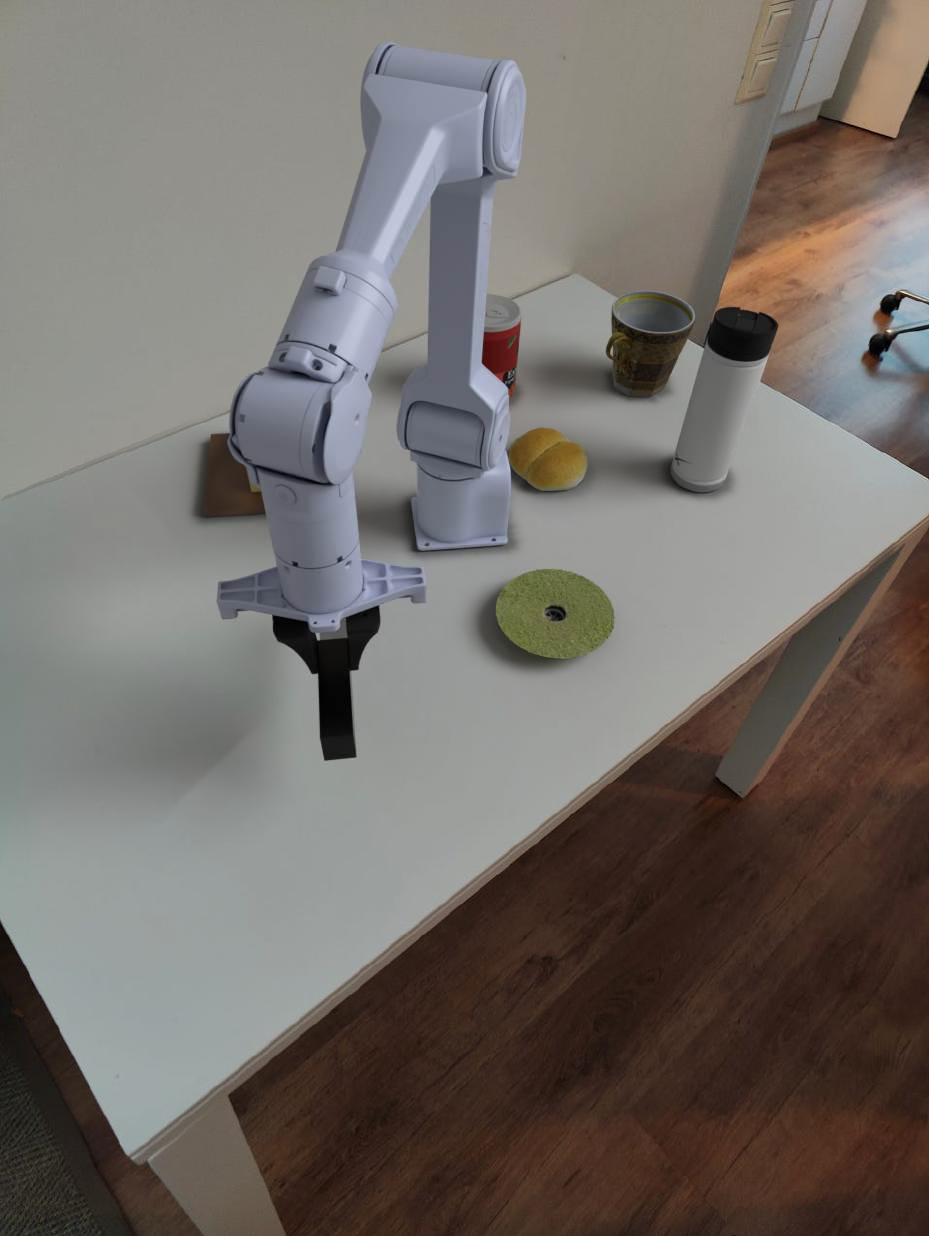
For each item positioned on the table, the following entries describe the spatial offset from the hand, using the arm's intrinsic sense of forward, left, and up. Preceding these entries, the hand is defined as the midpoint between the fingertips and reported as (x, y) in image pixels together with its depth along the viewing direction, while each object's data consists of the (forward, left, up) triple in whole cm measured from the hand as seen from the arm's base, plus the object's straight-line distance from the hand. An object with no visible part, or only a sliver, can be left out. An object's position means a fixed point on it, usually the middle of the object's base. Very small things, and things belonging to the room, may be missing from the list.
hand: (334, 662), depth 65 cm
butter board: (+7, -34, -8) cm, 35 cm away
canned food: (-19, -48, -8) cm, 52 cm away
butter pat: (+7, -31, -7) cm, 32 cm away
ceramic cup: (-38, -47, -8) cm, 61 cm away
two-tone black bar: (0, -1, -1) cm, 2 cm away
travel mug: (-41, -29, -8) cm, 51 cm away
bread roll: (-24, -32, -8) cm, 41 cm away
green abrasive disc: (-20, -9, -8) cm, 24 cm away
